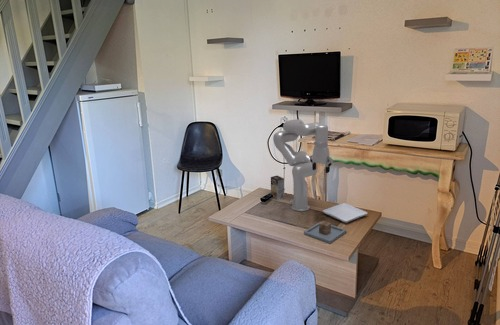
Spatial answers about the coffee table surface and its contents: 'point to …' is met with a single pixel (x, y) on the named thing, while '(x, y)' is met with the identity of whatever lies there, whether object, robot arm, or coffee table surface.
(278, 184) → the coffee box
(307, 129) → the robot arm
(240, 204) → the coffee table surface
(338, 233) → the slate dish
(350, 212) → the salad plate
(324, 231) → the walnut block
